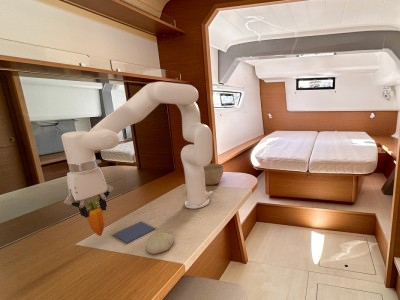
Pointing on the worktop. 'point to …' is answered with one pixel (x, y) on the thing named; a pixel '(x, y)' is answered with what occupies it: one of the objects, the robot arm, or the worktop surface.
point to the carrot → (96, 217)
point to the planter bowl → (213, 173)
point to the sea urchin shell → (159, 243)
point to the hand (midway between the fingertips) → (94, 212)
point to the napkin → (134, 232)
